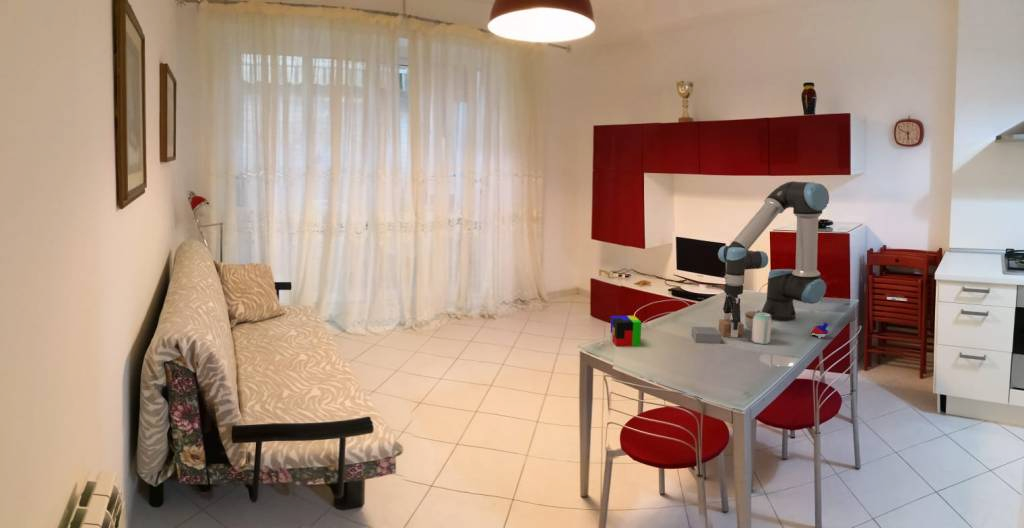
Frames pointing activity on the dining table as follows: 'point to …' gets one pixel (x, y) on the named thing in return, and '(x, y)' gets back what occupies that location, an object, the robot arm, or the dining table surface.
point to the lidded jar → (750, 319)
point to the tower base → (706, 335)
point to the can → (761, 328)
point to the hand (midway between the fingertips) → (730, 332)
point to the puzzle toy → (625, 331)
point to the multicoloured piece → (820, 329)
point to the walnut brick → (729, 328)
